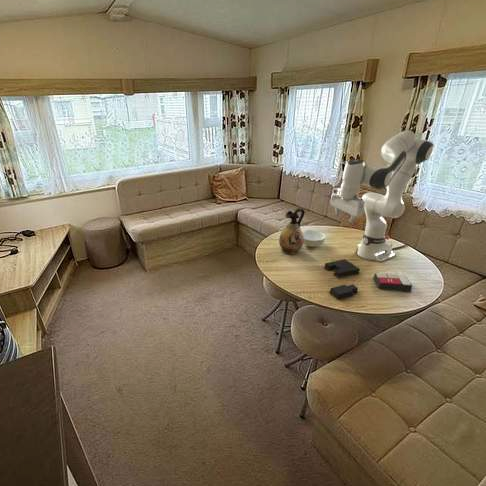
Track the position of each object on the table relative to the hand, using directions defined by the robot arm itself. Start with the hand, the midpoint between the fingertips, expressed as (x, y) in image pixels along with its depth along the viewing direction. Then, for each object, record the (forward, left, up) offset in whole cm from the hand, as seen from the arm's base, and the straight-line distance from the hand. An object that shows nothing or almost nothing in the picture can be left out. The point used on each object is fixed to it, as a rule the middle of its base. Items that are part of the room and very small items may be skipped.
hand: (343, 219), depth 154 cm
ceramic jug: (+6, -34, -35) cm, 49 cm away
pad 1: (-8, -3, -34) cm, 35 cm away
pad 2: (+6, +16, -34) cm, 38 cm away
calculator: (-23, +18, -35) cm, 45 cm away
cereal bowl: (-12, -38, -35) cm, 53 cm away
